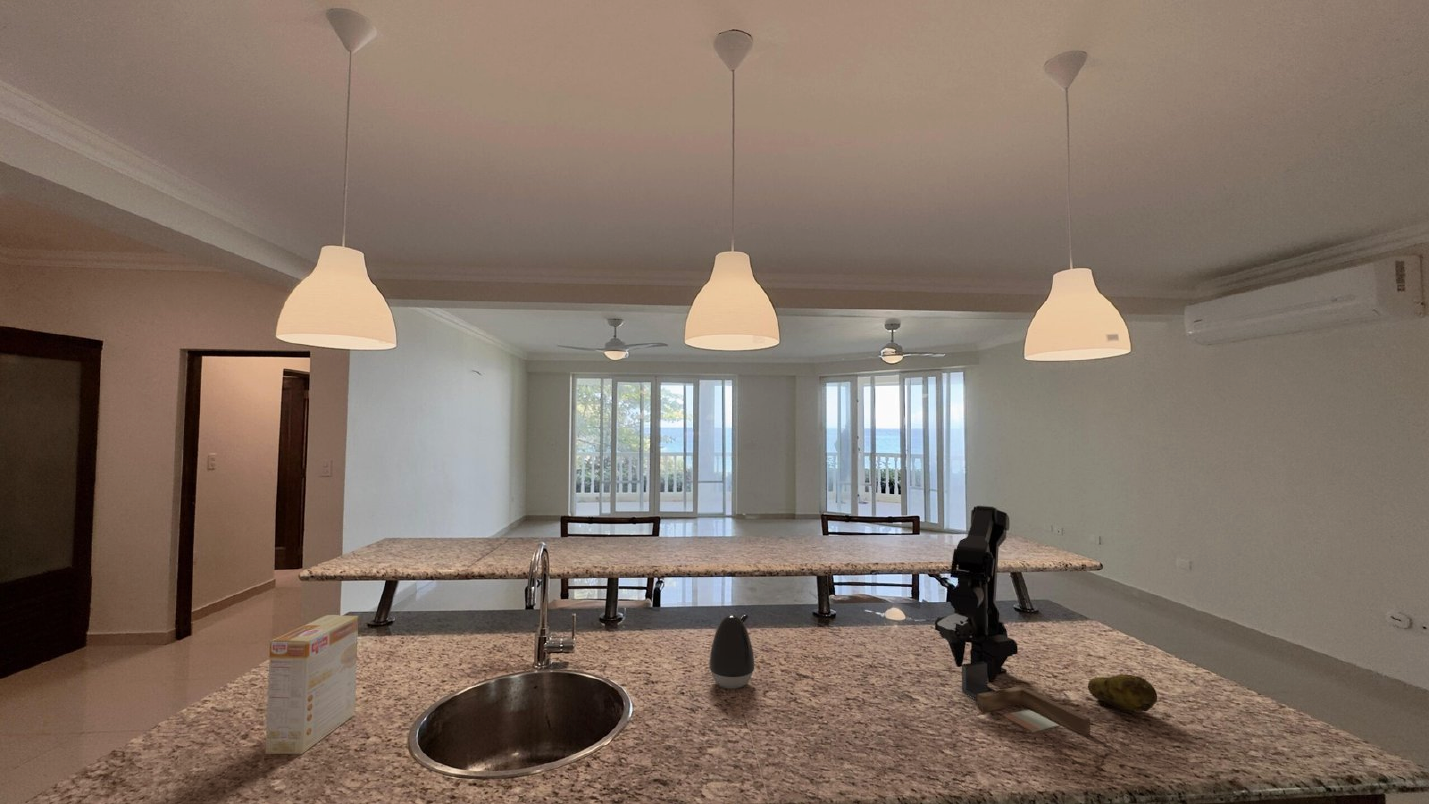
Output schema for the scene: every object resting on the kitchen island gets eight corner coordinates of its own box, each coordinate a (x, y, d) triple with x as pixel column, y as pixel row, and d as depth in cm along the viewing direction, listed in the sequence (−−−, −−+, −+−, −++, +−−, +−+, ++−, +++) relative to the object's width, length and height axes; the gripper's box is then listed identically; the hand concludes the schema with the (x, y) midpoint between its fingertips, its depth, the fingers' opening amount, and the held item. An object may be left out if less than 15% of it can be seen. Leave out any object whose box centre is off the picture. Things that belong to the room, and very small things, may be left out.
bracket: (983, 688, 132) (982, 661, 132) (1005, 700, 126) (1004, 671, 127) (962, 692, 130) (961, 664, 130) (983, 704, 124) (982, 675, 125)
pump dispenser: (764, 683, 134) (764, 615, 135) (733, 698, 126) (734, 625, 127) (730, 671, 141) (730, 606, 142) (699, 684, 133) (700, 615, 134)
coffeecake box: (321, 714, 118) (326, 614, 119) (356, 714, 118) (360, 614, 119) (262, 754, 103) (267, 640, 104) (302, 755, 103) (307, 640, 104)
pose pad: (1028, 710, 121) (1028, 709, 122) (1059, 726, 115) (1059, 725, 115) (1002, 715, 119) (1002, 714, 119) (1032, 732, 112) (1032, 731, 112)
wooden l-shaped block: (1019, 699, 127) (1019, 685, 127) (1090, 735, 112) (1089, 718, 112) (975, 708, 122) (975, 693, 123) (1043, 746, 107) (1042, 729, 108)
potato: (1121, 696, 128) (1120, 658, 129) (1166, 725, 115) (1165, 683, 116) (1083, 696, 128) (1082, 658, 129) (1124, 725, 115) (1122, 683, 116)
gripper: (915, 595, 137) (916, 663, 137) (977, 618, 120) (978, 697, 119) (953, 590, 141) (954, 657, 141) (1018, 613, 124) (1020, 689, 123)
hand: (974, 674), depth 131 cm, fingers open, 9 cm apart
